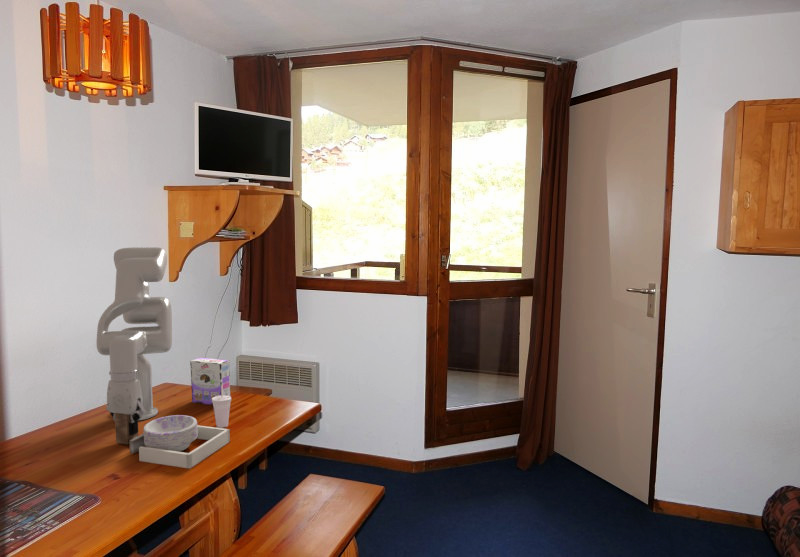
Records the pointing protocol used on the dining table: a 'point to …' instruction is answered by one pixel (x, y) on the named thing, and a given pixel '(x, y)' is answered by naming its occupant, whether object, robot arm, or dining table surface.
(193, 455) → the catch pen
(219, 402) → the smoothie
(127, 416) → the scraper
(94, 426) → the dining table surface
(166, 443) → the paper bowls
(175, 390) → the dining table surface
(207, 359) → the candy box
